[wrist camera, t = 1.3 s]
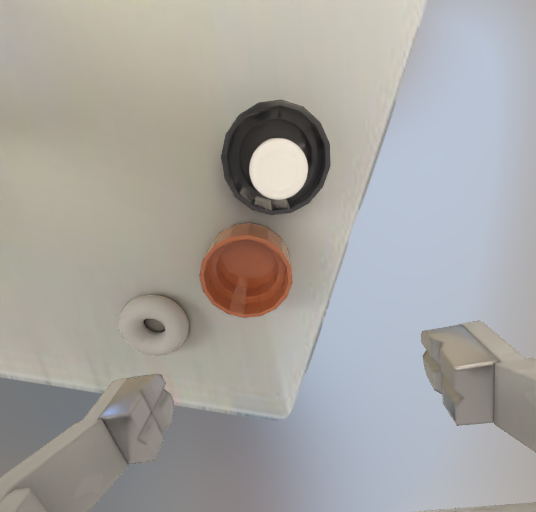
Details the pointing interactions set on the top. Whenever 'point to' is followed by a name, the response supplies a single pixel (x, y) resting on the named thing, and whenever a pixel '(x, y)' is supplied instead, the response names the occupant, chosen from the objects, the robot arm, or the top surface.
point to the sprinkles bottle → (278, 168)
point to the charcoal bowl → (275, 126)
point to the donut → (161, 311)
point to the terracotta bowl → (246, 270)
